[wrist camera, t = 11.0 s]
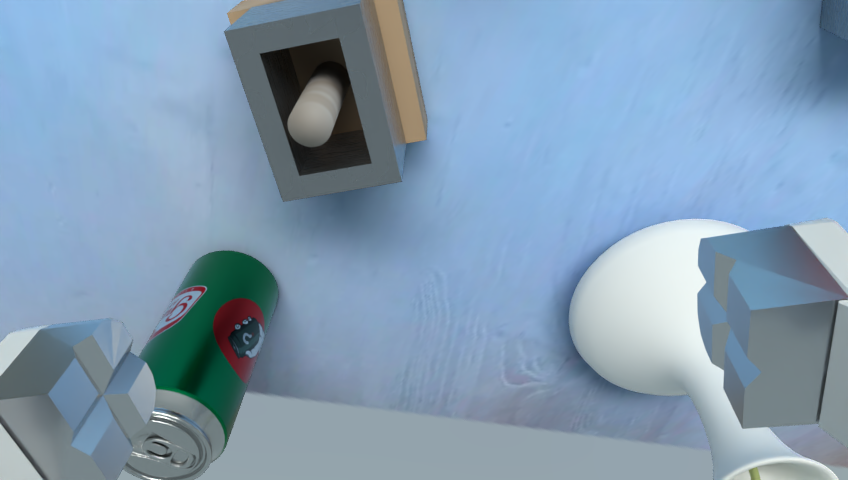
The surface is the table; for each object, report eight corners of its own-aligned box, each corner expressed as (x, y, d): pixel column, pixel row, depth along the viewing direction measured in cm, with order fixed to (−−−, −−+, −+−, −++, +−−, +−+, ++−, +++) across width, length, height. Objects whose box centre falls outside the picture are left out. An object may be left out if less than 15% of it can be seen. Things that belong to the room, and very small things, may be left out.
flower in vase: (817, 245, 35) (1404, 873, 14) (695, 390, 41) (978, 998, 19) (601, 161, 33) (900, 753, 11) (503, 327, 38) (583, 934, 17)
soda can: (210, 229, 35) (116, 387, 25) (295, 270, 37) (239, 437, 26) (177, 294, 38) (79, 463, 27) (258, 331, 39) (193, 505, 29)
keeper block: (396, -32, 28) (382, 8, 22) (427, 120, 32) (423, 195, 25) (242, 0, 29) (182, 49, 22) (289, 144, 33) (249, 224, 26)
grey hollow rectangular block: (251, 7, 27) (223, 31, 24) (370, -18, 26) (359, 3, 23) (300, 161, 30) (283, 201, 27) (406, 142, 30) (401, 181, 26)
